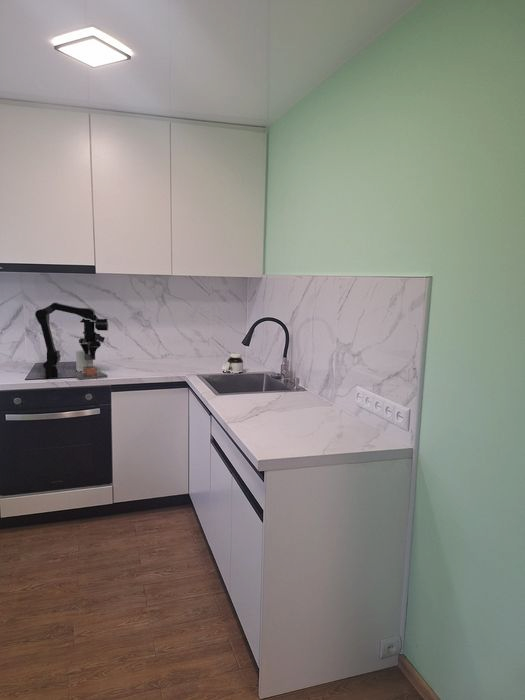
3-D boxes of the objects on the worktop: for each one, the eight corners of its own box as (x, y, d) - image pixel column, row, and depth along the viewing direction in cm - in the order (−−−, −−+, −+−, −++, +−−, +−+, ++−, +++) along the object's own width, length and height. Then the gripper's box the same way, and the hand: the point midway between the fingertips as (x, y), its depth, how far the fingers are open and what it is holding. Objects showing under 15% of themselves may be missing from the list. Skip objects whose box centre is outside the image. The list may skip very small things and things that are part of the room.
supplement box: (87, 372, 295) (86, 351, 293) (76, 371, 296) (75, 351, 294) (93, 370, 302) (93, 350, 300) (82, 369, 303) (82, 349, 301)
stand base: (80, 380, 271) (80, 370, 270) (73, 376, 280) (72, 366, 279) (107, 377, 282) (107, 367, 281) (100, 374, 290) (99, 364, 290)
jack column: (86, 368, 277) (86, 355, 276) (84, 367, 280) (84, 354, 279) (95, 367, 281) (95, 354, 279) (93, 366, 283) (92, 353, 282)
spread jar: (244, 372, 309) (245, 355, 308) (232, 375, 301) (233, 357, 299) (231, 370, 317) (231, 352, 315) (219, 372, 308) (219, 354, 306)
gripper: (109, 331, 275) (109, 358, 277) (97, 328, 289) (97, 353, 292) (89, 332, 268) (90, 359, 270) (78, 328, 282) (78, 355, 285)
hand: (89, 356), depth 279 cm, fingers open, 9 cm apart
